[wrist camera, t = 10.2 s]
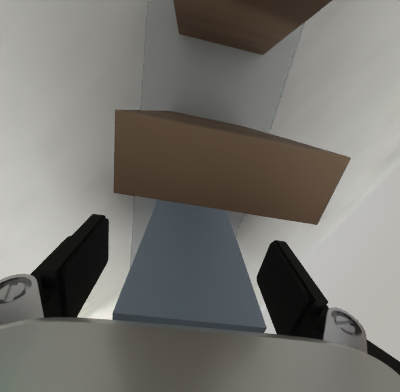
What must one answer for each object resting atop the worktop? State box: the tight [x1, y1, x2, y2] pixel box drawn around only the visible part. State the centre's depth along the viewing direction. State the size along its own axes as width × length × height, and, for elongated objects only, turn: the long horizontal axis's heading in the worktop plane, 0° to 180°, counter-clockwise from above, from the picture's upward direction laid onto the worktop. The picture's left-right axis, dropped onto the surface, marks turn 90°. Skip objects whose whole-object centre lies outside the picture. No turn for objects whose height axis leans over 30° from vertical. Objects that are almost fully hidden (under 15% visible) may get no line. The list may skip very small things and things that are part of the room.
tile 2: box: [114, 110, 351, 225], centre depth 9 cm, size 2×5×10 cm, turn 79°
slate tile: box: [113, 200, 266, 333], centre depth 11 cm, size 2×5×10 cm, turn 78°
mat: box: [130, 0, 304, 268], centre depth 16 cm, size 32×9×1 cm, turn 169°
